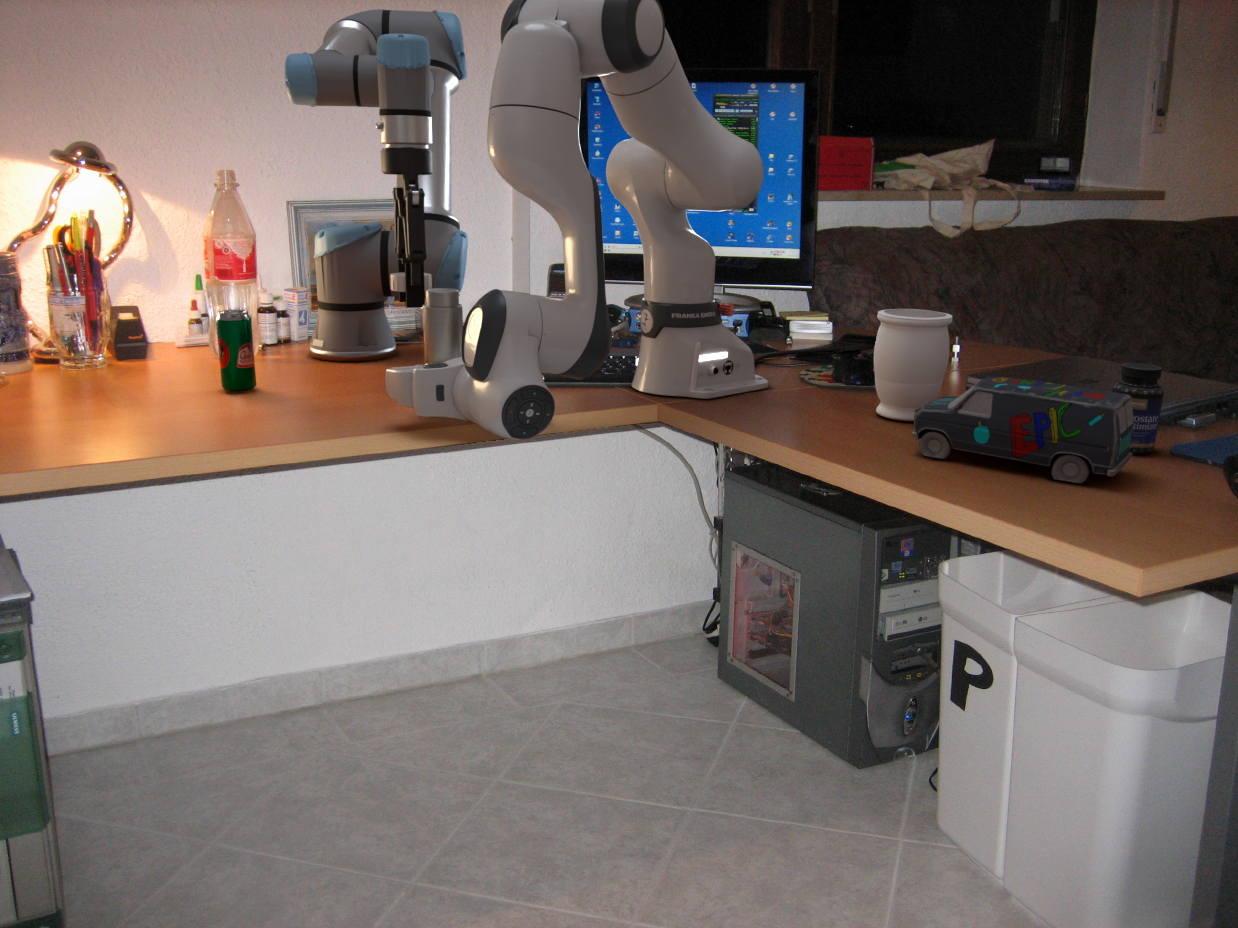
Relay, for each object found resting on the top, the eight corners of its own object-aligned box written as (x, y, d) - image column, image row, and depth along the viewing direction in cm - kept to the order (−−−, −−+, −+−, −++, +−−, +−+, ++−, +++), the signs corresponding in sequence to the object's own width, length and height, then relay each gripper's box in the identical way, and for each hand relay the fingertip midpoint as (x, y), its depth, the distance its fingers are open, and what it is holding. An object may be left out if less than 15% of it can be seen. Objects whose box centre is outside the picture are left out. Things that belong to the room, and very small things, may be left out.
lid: (381, 290, 162) (381, 274, 161) (411, 286, 167) (410, 271, 166) (411, 293, 159) (410, 277, 158) (440, 289, 164) (440, 274, 163)
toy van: (934, 436, 145) (942, 364, 142) (1131, 470, 131) (1144, 390, 128) (905, 453, 136) (913, 376, 134) (1112, 490, 123) (1125, 406, 120)
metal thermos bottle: (469, 409, 156) (467, 288, 151) (457, 417, 151) (454, 293, 146) (434, 406, 157) (430, 287, 152) (420, 415, 152) (416, 291, 147)
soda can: (245, 393, 162) (239, 314, 158) (215, 391, 163) (208, 313, 159) (262, 387, 166) (257, 310, 163) (233, 385, 167) (226, 308, 164)
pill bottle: (1117, 454, 138) (1130, 370, 135) (1094, 442, 144) (1106, 361, 140) (1163, 454, 138) (1177, 370, 135) (1139, 442, 144) (1152, 361, 141)
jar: (854, 409, 159) (862, 309, 155) (910, 404, 163) (920, 306, 159) (898, 426, 150) (909, 320, 146) (957, 420, 154) (969, 317, 150)
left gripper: (371, 147, 165) (378, 297, 171) (390, 145, 147) (396, 313, 154) (420, 148, 167) (425, 296, 173) (444, 147, 150) (448, 311, 156)
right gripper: (549, 357, 145) (508, 341, 157) (404, 370, 135) (371, 351, 147) (549, 403, 147) (508, 383, 159) (406, 418, 137) (373, 396, 149)
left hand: (411, 304), depth 163 cm, fingers closed on lid, 6 cm apart
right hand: (441, 368), depth 153 cm, fingers closed on metal thermos bottle, 5 cm apart
